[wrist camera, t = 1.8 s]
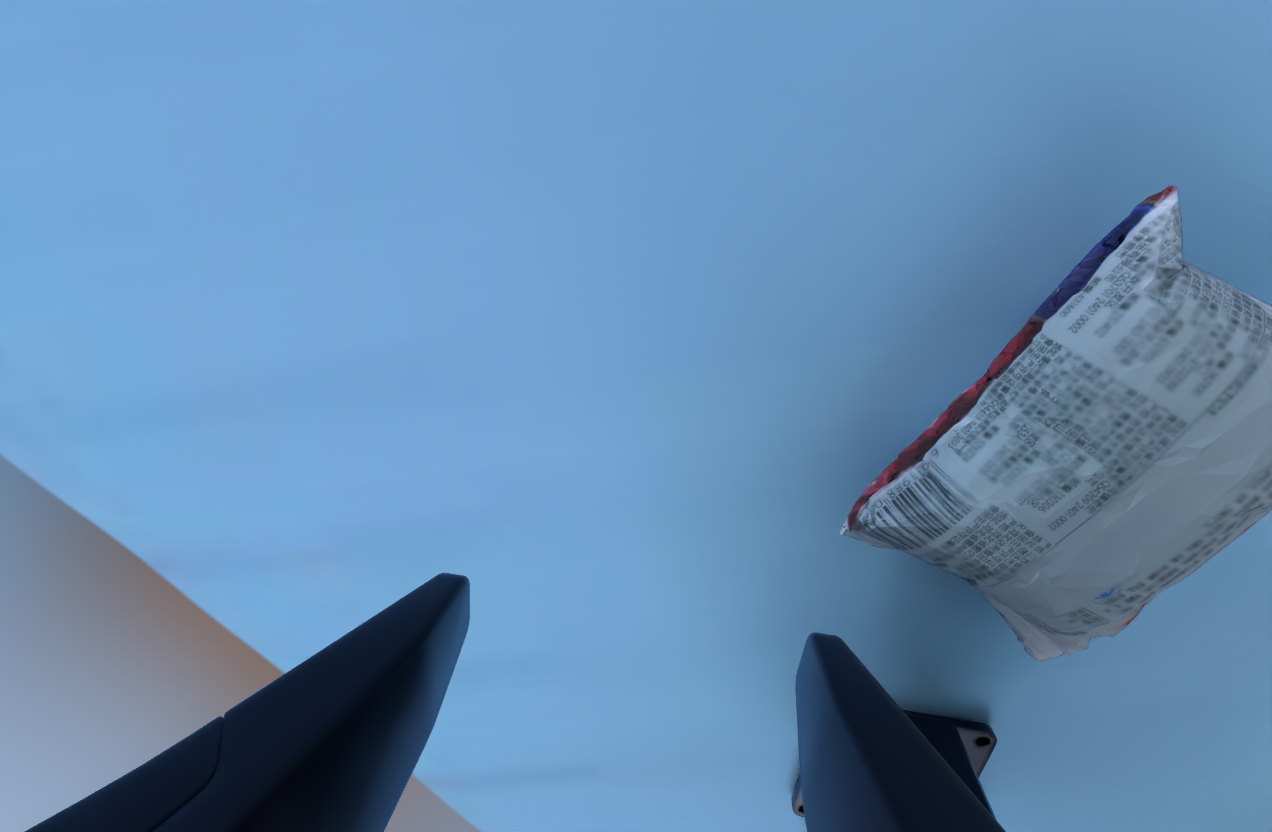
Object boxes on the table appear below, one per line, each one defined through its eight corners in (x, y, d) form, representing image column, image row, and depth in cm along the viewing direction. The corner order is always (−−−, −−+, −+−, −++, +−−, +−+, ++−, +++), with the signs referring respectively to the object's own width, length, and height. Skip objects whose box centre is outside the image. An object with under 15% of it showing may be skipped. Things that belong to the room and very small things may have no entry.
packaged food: (1341, 352, 17) (1569, 426, 12) (1011, 620, 22) (1090, 744, 17) (1103, 172, 16) (1258, 181, 11) (811, 495, 21) (839, 592, 16)
